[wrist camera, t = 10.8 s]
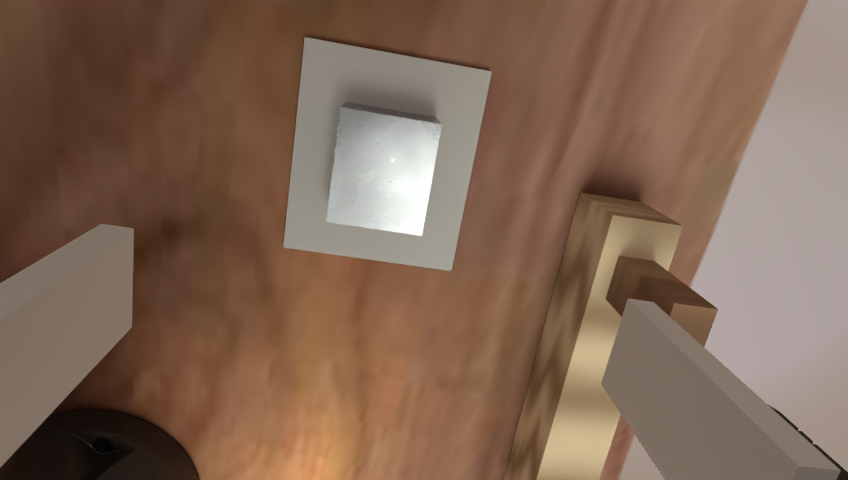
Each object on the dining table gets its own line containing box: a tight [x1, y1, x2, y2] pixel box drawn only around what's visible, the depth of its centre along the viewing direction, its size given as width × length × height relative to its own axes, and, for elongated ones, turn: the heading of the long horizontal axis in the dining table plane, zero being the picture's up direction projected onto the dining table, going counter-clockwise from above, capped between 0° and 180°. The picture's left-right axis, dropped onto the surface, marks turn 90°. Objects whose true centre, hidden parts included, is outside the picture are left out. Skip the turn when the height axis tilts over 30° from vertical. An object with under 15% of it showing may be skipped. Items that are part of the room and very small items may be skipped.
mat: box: [283, 37, 492, 271], centre depth 37 cm, size 14×12×1 cm
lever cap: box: [326, 102, 442, 236], centre depth 35 cm, size 7×6×4 cm
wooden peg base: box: [503, 192, 718, 480], centre depth 37 cm, size 26×5×13 cm, turn 170°
